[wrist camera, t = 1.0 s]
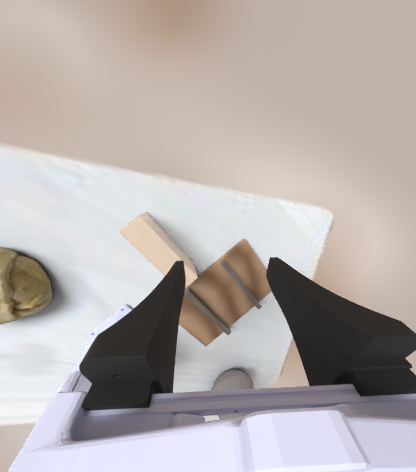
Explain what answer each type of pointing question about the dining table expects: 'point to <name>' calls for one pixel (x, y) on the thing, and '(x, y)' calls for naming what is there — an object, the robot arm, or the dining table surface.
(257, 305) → the tan panel with rails
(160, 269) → the beige rectangular block
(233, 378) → the coffee pot
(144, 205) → the dining table surface
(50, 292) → the pastry
